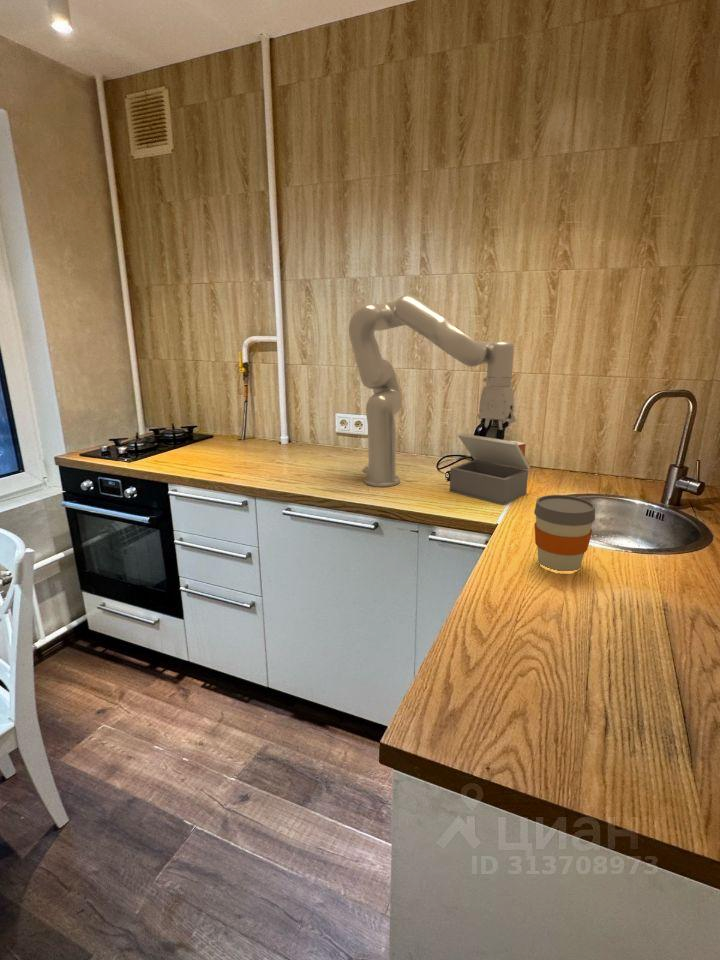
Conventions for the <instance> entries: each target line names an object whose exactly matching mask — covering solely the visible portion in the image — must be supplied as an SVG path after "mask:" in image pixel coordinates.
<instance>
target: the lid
mask: <svg viewBox="0 0 720 960" xmlns="http://www.w3.org/2000/svg"><path fill="white" fill-rule="evenodd" d="M498 429H499V427H497V426H496V427H495V426H492V427H490V429H489V431H488V433H487V435H486V434H485V436H480V435H474V434H466V433H462V432H461V433H460V432H459V433H458V435H457V437H458V438H459V439H460V441H461V442H462V444H463V445H464V447H465V448H466V450H467V451H468V453H469V454H470V456H471V457H472V460H476V461H482V462H487V463H492V464H500V465H505V466H510V467H515V468H521V469H523V470H528V471H530V469H531V467H530V465H529V463H528V461H527V459H526V457H524V455H523V453H522V451H521V450H520V448H519V446H518V444H517V442H518V441H517V442H513V441H514V440H513V441H512V440H505V439H503V440H500V439H497V430H498Z"/></svg>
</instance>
